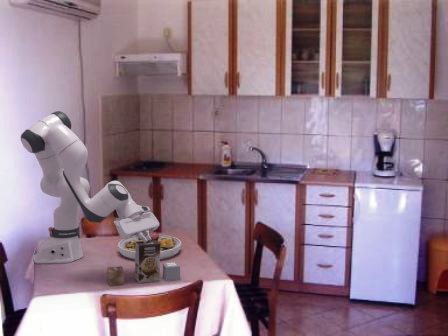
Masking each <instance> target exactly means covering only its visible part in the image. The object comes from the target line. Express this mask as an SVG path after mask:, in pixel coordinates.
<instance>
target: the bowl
mask: <svg viewBox="0 0 448 336" xmlns="http://www.w3.org/2000/svg"><path fill="white" fill-rule="evenodd" d="M142 235H144V234H142ZM149 235H150V238H151V240H156V241H158V242H159V243H160V261H161V260H165V259H169V258H171V257H174V256H175V255H177V254H178V253H179V251H180V250H181V248H182V241H181V240H180V239H179V238H177V237H175V236H170V235H165V234H159V233H157V232H156V231H154V232H152V233H151V234H150V232H149ZM144 236H145V235H144ZM145 237H146V236H145ZM137 241H143V240H141V239H140V238H138V237H137V236H133V237H130V238H127V239H123V238H122V239H121V240H120V241H119V242H118V243H117V249H118V251H119V253H120V254H121V255H122V256H124V257H125V258H128V259H130V260H134V261H135V250H136V242H137Z"/></svg>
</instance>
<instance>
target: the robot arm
mask: <svg viewBox="0 0 448 336" xmlns="http://www.w3.org/2000/svg"><path fill="white" fill-rule="evenodd" d="M20 142H21V144H22V146H23V147H24V149H25V150H26V151H27V152H29V153H31V154H34V156H35V158H36V160H37V162H38V163H39V166H40V168H41V170H42V175H43V176H42V177H41V180H40V184H39V185H40V186H39V187H40V190H41V192H43V194H46V195H47V196H50V197H53V198H60V204H59V206H57V207H56V208H55V209H54V210H53V227H52V226H50V227H48V232H49V236H47V238H45V240H43V241H42V242H41V243H40V244H39V245H38V247H37V253H34V255H33V256H32V262H34V263H35V264H63V263H64V264H65V263H67V264H68V263H72V262H74V261H76V260H79V259H81V258H83V257H84V253H83V250H82V245H81V241H80V240H81V239H80V238H81V228H80V225H79V224H80V223H79V220H80V219H79V213H80V209H81V211H82V213H83V216H84V217H85V219H86V220H87V221H89V223H95V224H99V223H102V222H104V221H105V219H106V218H107V217H108V216H109V215H110V214H112V213H113V212H114V211H115V210H116V211H115V212H116V214H117V216H118V217H116V218H114V220H113V224H114V226H115V227H116V230H117V233H118V235H119V236H120V238H121V239H122V240H123V239H127V238H130V237H133V236H137V237H138V238H140V239H141V240H143V242H144V243H146V242H150V241H151V238H150V235H151V234H150V235H149V233H150V232H153V231H154V232H155V231H156V230H157V229H158V228H159V227H160V222H159V220H158V219H157V217H156V216H155V214H154V213H153V212H151V208H150V207H149V206H145V205H139V204H137V203H136V202H135V201H134V199H132V195H131V193H130V192H129V191H128V190H127V188H126V187H125V186H124V185H123V184H122V183H121V182H120V181H119V180H112V181H109V182H108V183H107V184H105V186H104V187H103V188H102V189H100V190H99V191H98V192H97V193H96V194H95V195H94V196H93V197H91V198H90V197H89V193H90V189H91V186H90V182H89V181H88V179H86V178H84V177H82V176H81V175H82V172H83V170H84V168H85V167H86V164H87V162H88V158H89V152H88V149H87V146H86V145H85V144H84V142H83V141H82V140H81V139H80V138H79V137H78V135H77V134H75V132H74V131H72V122H71V119H70V118H69V117H68V115H67V114H66V113H65V112H62V111H60V110H58V111H54V112H52V113H50V114H49V115H46V116H45V117H42V118H41V119H39V120H38V121H37V122H36V123H33V125H31V126H30V127H29V128H28V129H27V128H26V129H25V130H24V131H23V132H22V133H21V134H20ZM142 234H144V235H145V236H146V237H145V236H144V235H142Z"/></svg>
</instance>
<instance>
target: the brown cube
mask: <svg viewBox="0 0 448 336" xmlns="http://www.w3.org/2000/svg"><path fill="white" fill-rule="evenodd" d="M106 271H107V273H106V274H107V276H106V277H107V283H108V286H109V287H115V286H125V269H124V268H123V266H122V265H119V266H111V267H110V266H109V267H107V270H106Z"/></svg>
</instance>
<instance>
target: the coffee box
mask: <svg viewBox="0 0 448 336" xmlns="http://www.w3.org/2000/svg"><path fill="white" fill-rule="evenodd" d="M134 261H135V262H134V279H135V281H137V283H138V284H144V283H151V282H158V281H159V282H160V278H161V276H160V273H161V272H160V271H161V269H160V268H161V260H160V243H159V242H158V241H156V240H151V241H150V242H146V243H144V242H143V241H137V242H136V250H135V260H134Z"/></svg>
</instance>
